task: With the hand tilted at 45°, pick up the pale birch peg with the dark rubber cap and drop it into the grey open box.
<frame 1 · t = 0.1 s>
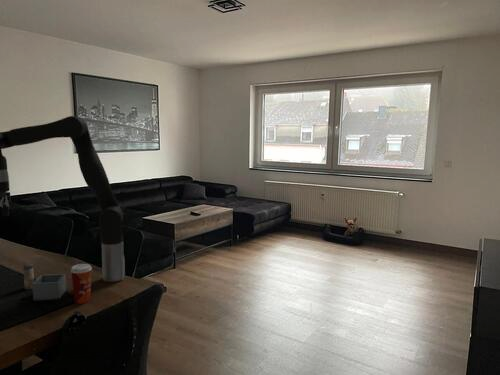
hand: (1, 218, 156), 29 cm above the table, tool pointing down, fingers open, 8 cm apart
grey open box: (50, 295, 149), on the table
paper cup: (82, 300, 145), on the table
birch peg: (29, 287, 156), on the table
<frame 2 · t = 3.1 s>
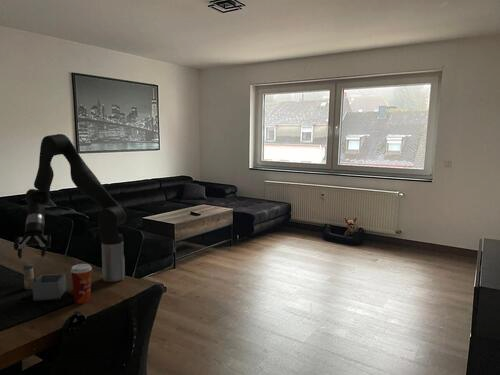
hand: (31, 256, 161), 11 cm above the table, tool tilted 45°, fingers open, 8 cm apart
nothing on the table moved.
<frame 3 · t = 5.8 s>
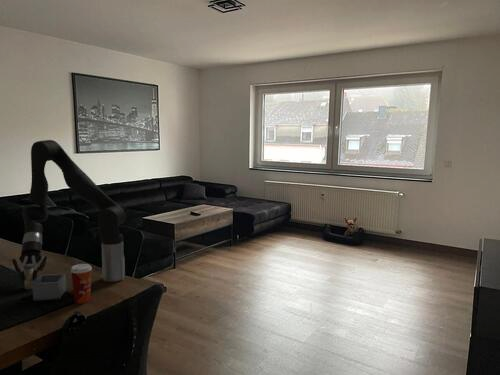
hand: (28, 280, 154), 4 cm above the table, tool tilted 45°, fingers closed on birch peg, 3 cm apart
birch peg: (29, 287, 156), on the table, touching gripper
everything else where it was.
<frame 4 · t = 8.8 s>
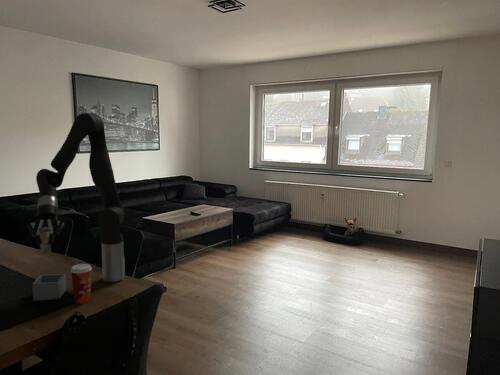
hand: (44, 244, 146), 22 cm above the table, tool tilted 45°, fingers closed on birch peg, 3 cm apart
birch peg: (45, 252, 148), point 18 cm above the table, touching gripper
everything else where it was.
when the fingers open (12 cm above the table, at t = 12.2 s): birch peg drops 7 cm, resting on grey open box.
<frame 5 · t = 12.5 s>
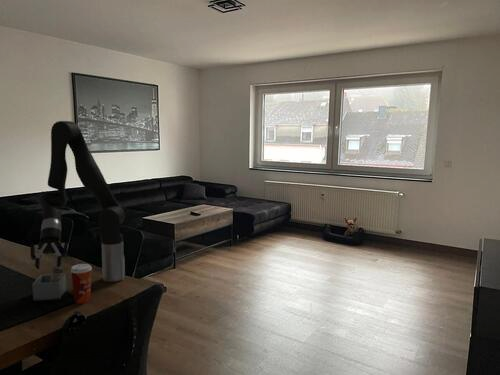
hand: (48, 267, 146), 12 cm above the table, tool tilted 45°, fingers open, 6 cm apart
birch peg: (50, 292, 149), point 1 cm above the table, tilted 19°, touching grey open box
everything else where it was.
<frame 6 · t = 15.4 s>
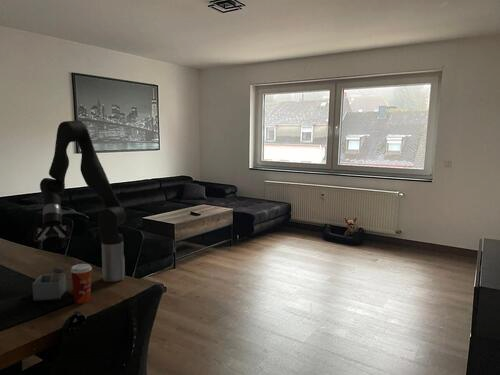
hand: (51, 248, 159), 16 cm above the table, tool tilted 40°, fingers open, 8 cm apart
nothing on the table moved.
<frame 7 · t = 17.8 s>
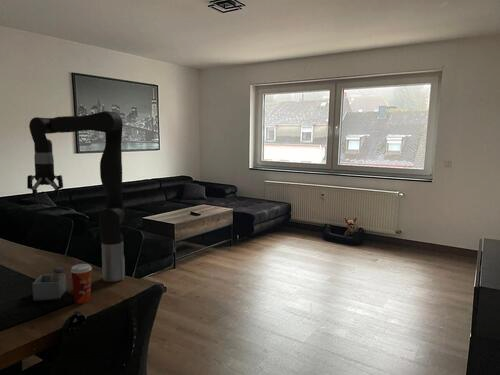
hand: (46, 197, 167), 36 cm above the table, tool pointing down, fingers open, 8 cm apart
nothing on the table moved.
at the end: birch peg inside the target area on the grey open box (0.2 cm from its centre), point 1.2 cm above the grey open box's base; the gripper is holding nothing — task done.
